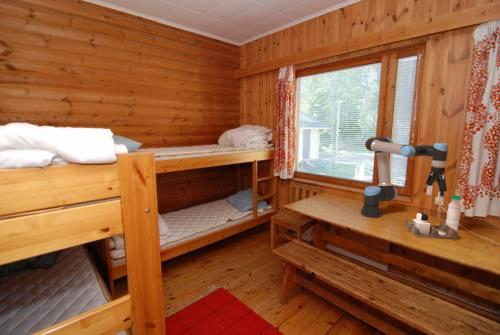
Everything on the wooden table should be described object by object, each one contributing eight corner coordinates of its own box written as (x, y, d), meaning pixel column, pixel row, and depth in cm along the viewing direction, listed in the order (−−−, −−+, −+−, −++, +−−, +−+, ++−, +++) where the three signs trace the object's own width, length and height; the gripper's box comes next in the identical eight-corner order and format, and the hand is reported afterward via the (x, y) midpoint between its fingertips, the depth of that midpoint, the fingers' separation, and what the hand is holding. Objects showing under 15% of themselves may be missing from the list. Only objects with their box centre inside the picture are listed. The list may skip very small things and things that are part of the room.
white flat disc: (428, 229, 169) (428, 228, 169) (441, 230, 167) (441, 229, 167) (435, 235, 161) (435, 233, 160) (449, 236, 159) (449, 234, 159)
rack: (404, 227, 176) (405, 219, 174) (440, 229, 172) (441, 221, 171) (416, 238, 158) (418, 230, 157) (457, 241, 154) (459, 232, 153)
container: (424, 229, 168) (426, 212, 166) (429, 234, 161) (431, 216, 159) (411, 228, 170) (413, 211, 168) (416, 233, 163) (418, 215, 161)
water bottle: (442, 228, 173) (447, 195, 168) (448, 226, 175) (453, 194, 171) (453, 232, 166) (459, 198, 162) (460, 230, 169) (465, 196, 164)
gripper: (422, 163, 170) (419, 192, 174) (442, 170, 146) (438, 203, 149) (434, 163, 168) (430, 192, 172) (457, 170, 144) (452, 203, 148)
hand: (434, 197), depth 161 cm, fingers open, 13 cm apart
